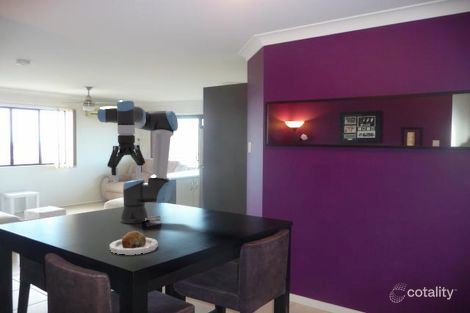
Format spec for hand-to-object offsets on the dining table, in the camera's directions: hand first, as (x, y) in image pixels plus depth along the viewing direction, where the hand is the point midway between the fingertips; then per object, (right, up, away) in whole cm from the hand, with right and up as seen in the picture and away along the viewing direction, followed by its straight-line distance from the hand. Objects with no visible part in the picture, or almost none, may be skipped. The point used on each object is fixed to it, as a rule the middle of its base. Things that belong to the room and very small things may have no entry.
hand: (127, 180), depth 169 cm
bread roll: (+7, -27, -14) cm, 31 cm away
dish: (+7, -27, -14) cm, 32 cm away
